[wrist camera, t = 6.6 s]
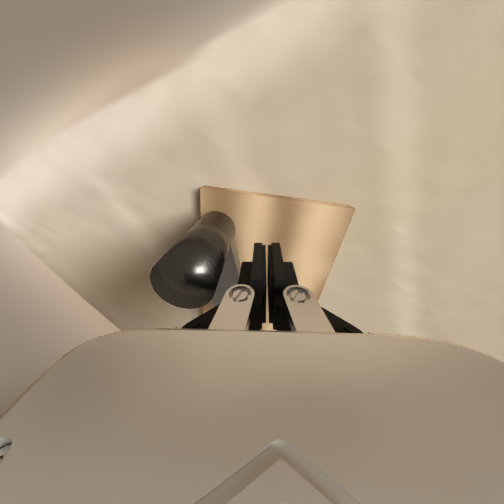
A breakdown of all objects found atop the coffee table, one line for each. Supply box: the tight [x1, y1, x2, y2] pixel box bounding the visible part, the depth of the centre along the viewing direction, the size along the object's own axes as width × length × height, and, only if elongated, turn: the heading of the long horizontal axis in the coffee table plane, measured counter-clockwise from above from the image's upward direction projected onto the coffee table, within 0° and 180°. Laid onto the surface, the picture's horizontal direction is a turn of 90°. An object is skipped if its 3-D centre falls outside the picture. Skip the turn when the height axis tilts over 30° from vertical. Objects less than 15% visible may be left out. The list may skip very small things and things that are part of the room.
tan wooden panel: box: [200, 186, 355, 331], centre depth 21 cm, size 13×30×5 cm, turn 173°
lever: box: [150, 211, 241, 309], centre depth 16 cm, size 10×20×8 cm, turn 10°
